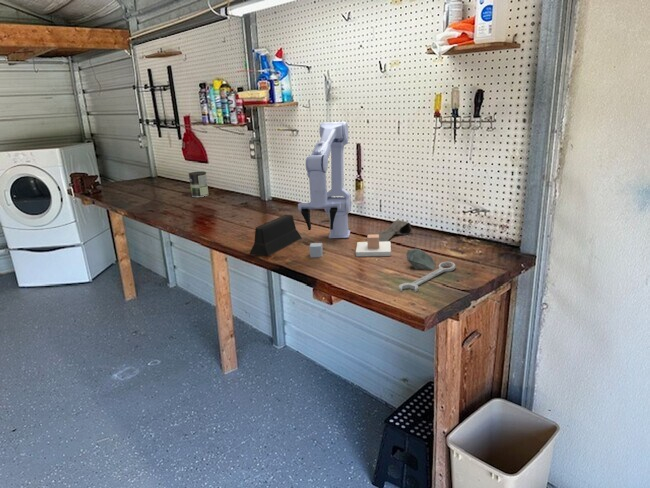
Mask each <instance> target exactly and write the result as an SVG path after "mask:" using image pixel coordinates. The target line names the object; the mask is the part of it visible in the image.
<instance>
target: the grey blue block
mask: <svg viewBox="0 0 650 488" xmlns="http://www.w3.org/2000/svg"><path fill="white" fill-rule="evenodd" d="M308 249H309V258H322V257H323V255H324V252H323V251H324V250H323V243H322V242H310V244H309V248H308Z"/></svg>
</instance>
